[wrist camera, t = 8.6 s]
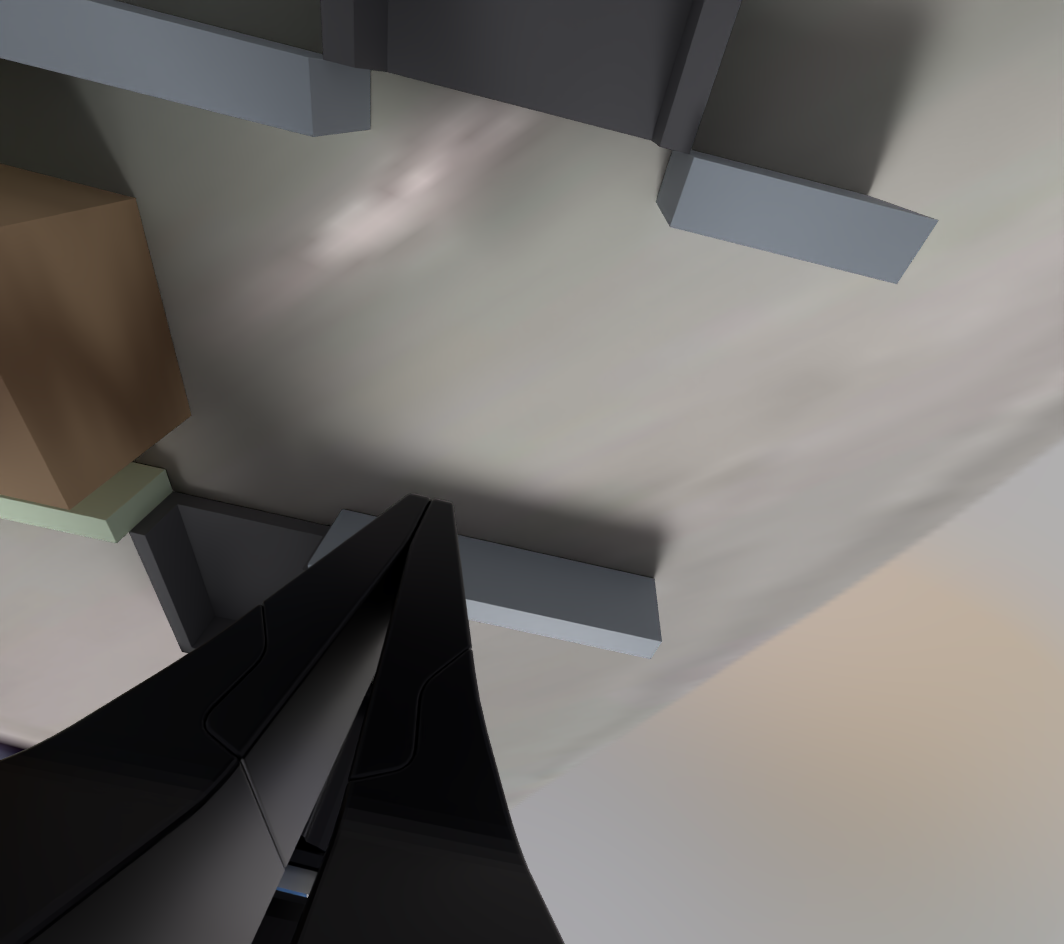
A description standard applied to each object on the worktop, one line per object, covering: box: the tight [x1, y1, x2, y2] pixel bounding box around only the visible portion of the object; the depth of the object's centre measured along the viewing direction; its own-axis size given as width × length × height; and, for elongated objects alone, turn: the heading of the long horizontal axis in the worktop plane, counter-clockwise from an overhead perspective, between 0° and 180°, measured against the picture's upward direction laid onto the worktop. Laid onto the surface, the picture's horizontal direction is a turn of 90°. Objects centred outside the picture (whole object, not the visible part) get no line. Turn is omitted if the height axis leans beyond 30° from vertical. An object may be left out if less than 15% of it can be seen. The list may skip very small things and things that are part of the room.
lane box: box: [0, 0, 939, 659], centre depth 12 cm, size 27×23×2 cm
